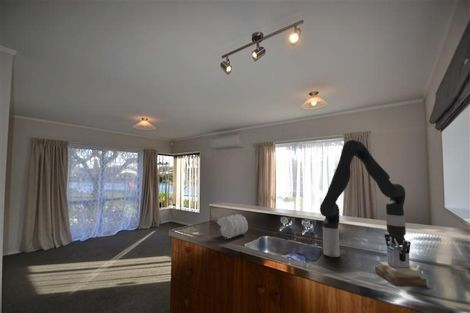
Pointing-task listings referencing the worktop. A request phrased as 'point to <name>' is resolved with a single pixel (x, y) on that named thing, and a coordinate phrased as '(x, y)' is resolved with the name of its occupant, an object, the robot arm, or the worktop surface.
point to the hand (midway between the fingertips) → (398, 258)
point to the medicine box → (396, 258)
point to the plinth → (401, 280)
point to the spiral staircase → (233, 225)
